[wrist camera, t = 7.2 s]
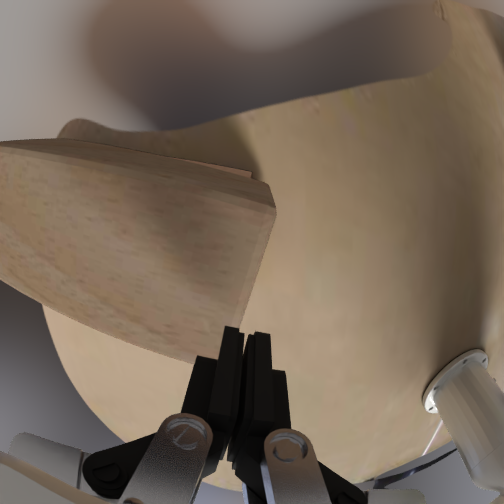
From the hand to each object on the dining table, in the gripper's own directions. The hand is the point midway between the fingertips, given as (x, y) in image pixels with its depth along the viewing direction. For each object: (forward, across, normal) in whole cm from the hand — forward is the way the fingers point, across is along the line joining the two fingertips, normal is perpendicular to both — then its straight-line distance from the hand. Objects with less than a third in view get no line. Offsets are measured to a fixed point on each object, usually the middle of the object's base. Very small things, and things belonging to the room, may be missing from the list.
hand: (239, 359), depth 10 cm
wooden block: (+8, 0, 0) cm, 9 cm away
